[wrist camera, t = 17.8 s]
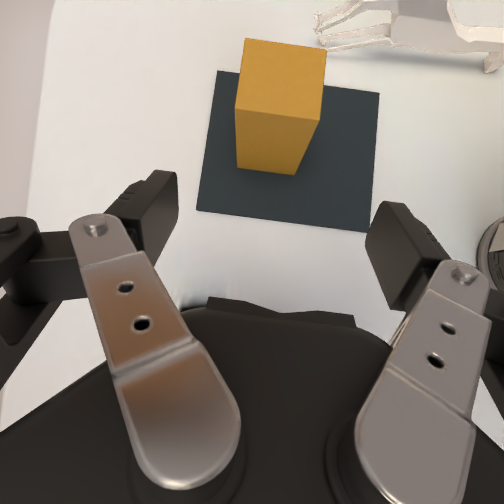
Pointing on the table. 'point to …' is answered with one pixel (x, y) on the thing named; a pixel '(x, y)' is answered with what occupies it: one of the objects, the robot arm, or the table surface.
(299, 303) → the table surface
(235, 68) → the table surface
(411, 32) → the llama figurine
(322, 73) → the block
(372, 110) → the mat
